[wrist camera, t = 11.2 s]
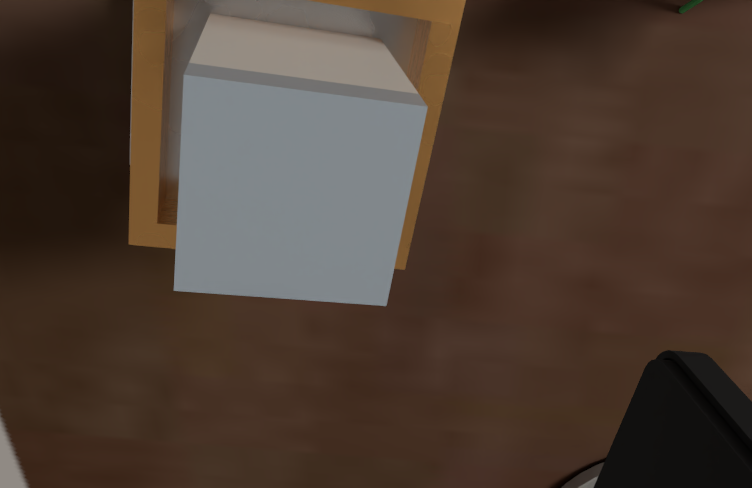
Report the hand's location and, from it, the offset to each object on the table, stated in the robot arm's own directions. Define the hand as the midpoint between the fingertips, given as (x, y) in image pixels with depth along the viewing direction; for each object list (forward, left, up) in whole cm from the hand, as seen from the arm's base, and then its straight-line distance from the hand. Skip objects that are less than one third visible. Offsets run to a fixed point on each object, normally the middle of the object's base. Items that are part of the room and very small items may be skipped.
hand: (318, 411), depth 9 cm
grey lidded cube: (0, 0, -14) cm, 14 cm away
